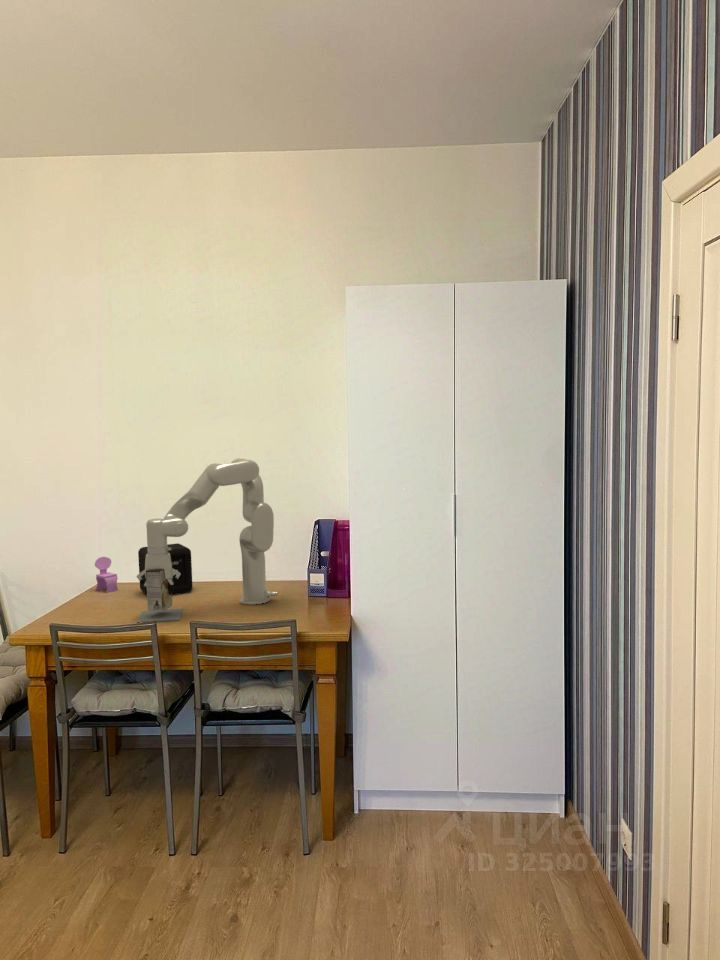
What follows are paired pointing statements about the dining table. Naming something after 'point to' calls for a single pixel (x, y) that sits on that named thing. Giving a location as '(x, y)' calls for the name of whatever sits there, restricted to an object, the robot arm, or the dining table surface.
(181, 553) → the black rounded block
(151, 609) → the coffee box
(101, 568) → the toy chair
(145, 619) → the slate mat
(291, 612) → the dining table surface
